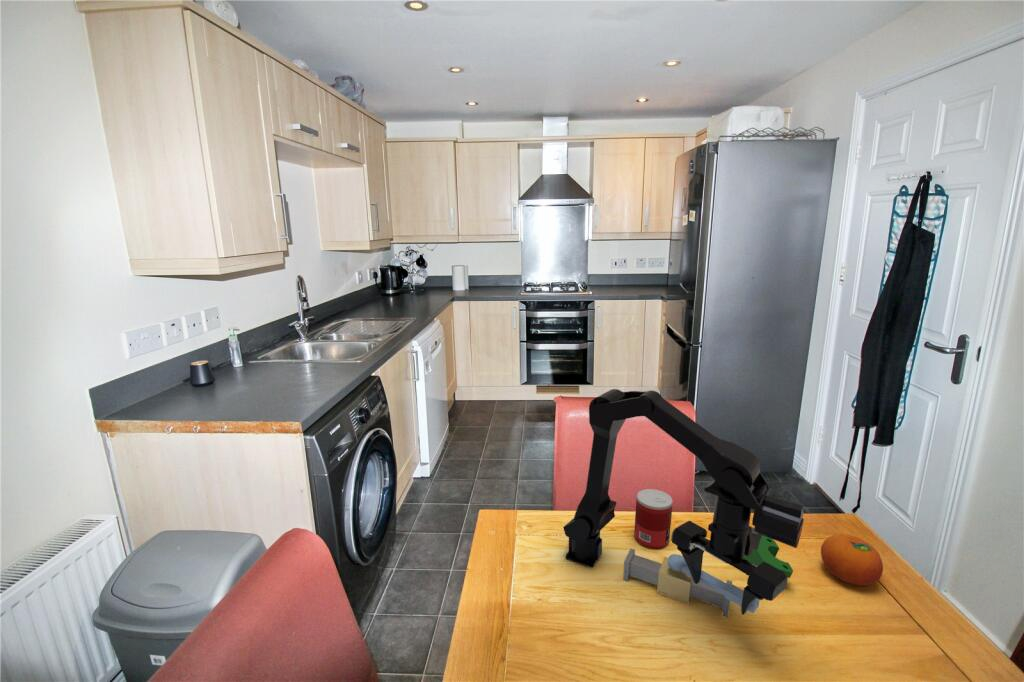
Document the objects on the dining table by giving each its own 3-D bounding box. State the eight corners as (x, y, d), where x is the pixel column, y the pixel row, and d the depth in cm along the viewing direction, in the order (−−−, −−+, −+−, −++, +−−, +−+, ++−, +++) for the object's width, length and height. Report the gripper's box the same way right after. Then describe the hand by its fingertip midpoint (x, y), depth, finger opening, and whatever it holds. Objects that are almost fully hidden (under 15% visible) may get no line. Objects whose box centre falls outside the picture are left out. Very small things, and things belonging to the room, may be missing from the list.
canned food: (673, 550, 107) (677, 507, 104) (638, 549, 107) (641, 507, 104) (663, 529, 114) (666, 488, 112) (630, 528, 114) (633, 488, 112)
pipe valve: (622, 580, 98) (624, 560, 96) (629, 566, 102) (630, 546, 101) (727, 618, 88) (730, 596, 87) (730, 600, 92) (732, 579, 91)
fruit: (806, 564, 102) (811, 532, 100) (841, 554, 105) (847, 522, 103) (854, 600, 92) (861, 565, 90) (891, 587, 95) (899, 553, 93)
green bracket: (774, 602, 97) (797, 582, 92) (745, 593, 98) (767, 573, 92) (762, 548, 107) (783, 528, 101) (736, 541, 107) (755, 520, 102)
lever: (751, 617, 82) (753, 607, 81) (664, 567, 94) (664, 559, 93) (759, 606, 84) (761, 597, 84) (673, 559, 96) (674, 550, 96)
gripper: (808, 532, 79) (793, 610, 83) (706, 484, 94) (697, 553, 97) (778, 557, 73) (763, 641, 76) (674, 501, 87) (665, 574, 91)
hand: (719, 597), depth 85 cm, fingers open, 9 cm apart
